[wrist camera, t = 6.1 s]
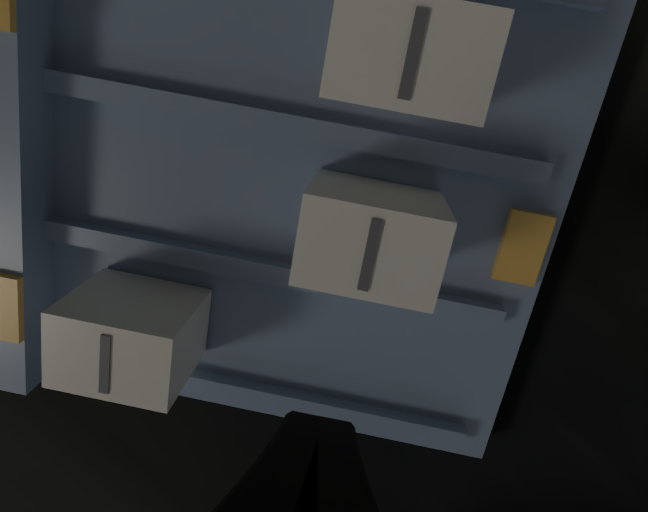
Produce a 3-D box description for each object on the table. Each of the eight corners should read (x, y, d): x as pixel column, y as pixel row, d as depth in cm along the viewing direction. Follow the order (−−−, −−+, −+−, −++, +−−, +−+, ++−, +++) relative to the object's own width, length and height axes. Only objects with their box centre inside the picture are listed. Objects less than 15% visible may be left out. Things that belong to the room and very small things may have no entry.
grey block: (205, 352, 20) (165, 414, 16) (102, 331, 20) (40, 388, 16) (212, 289, 19) (171, 340, 15) (104, 267, 19) (39, 313, 15)
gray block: (422, 266, 18) (433, 315, 14) (306, 243, 18) (287, 286, 14) (441, 191, 17) (457, 223, 13) (319, 168, 17) (302, 193, 13)
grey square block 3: (460, 115, 16) (483, 128, 13) (332, 92, 16) (318, 97, 13) (483, 24, 15) (515, 8, 12) (347, 0, 15) (337, -23, 12)
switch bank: (476, 438, 21) (492, 500, 18) (48, 349, 22) (-7, 394, 19) (629, -28, 16) (691, -53, 13) (44, -129, 16) (-34, -177, 13)
